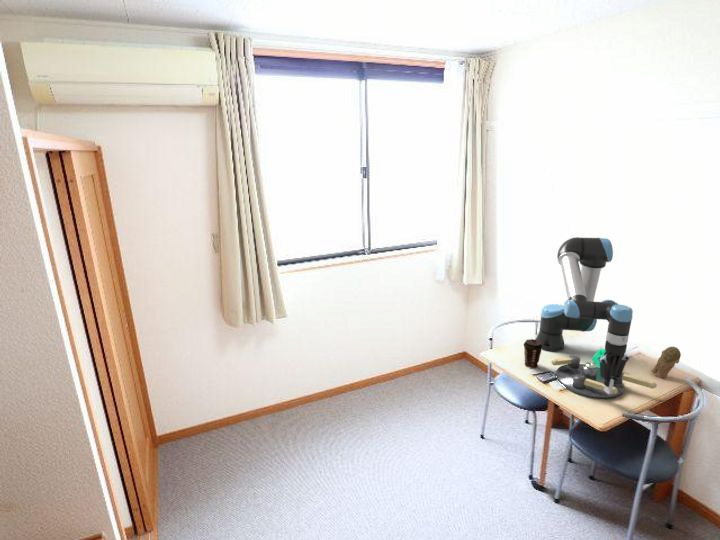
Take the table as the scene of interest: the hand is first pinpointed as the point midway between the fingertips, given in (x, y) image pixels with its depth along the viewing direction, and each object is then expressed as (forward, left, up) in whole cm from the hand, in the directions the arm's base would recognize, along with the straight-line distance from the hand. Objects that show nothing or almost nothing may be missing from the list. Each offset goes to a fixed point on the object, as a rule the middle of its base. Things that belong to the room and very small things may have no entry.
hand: (607, 392), depth 177 cm
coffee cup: (-36, -13, -6) cm, 39 cm away
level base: (-16, +4, -5) cm, 18 cm away
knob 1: (-6, -1, -3) cm, 7 cm away
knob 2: (-6, +18, -3) cm, 19 cm away
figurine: (-13, +42, -6) cm, 45 cm away
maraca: (-27, -1, -3) cm, 28 cm away
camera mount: (-27, +22, -6) cm, 35 cm away
